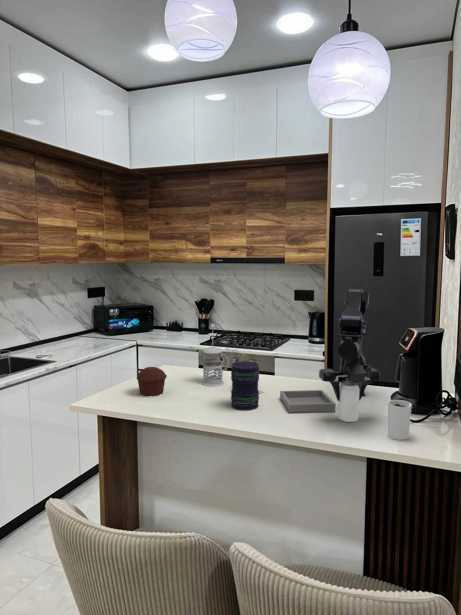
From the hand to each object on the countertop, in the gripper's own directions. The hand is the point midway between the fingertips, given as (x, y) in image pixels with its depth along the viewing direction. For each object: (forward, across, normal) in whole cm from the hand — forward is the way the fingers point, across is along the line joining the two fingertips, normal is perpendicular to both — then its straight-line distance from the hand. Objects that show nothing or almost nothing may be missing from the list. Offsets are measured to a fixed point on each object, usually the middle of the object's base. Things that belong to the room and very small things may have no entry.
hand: (348, 400), depth 151 cm
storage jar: (+6, -32, +16) cm, 36 cm away
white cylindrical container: (+6, +10, -15) cm, 19 cm away
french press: (+7, -41, +46) cm, 62 cm away
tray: (+6, -10, +15) cm, 19 cm away
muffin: (+7, -66, +34) cm, 74 cm away
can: (+6, 0, 0) cm, 6 cm away
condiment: (+7, -28, +33) cm, 44 cm away
